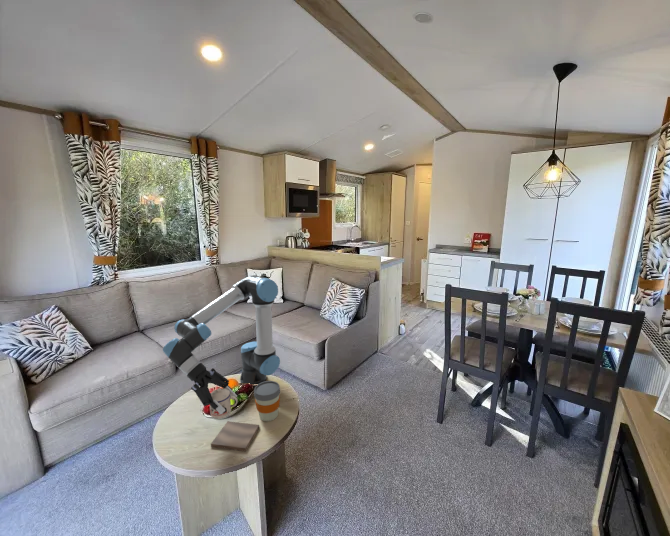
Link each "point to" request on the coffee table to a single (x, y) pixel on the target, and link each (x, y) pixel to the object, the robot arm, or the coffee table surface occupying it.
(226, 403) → the teacup with lid
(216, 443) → the walnut board
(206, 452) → the coffee table surface
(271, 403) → the reusable coffee cup
